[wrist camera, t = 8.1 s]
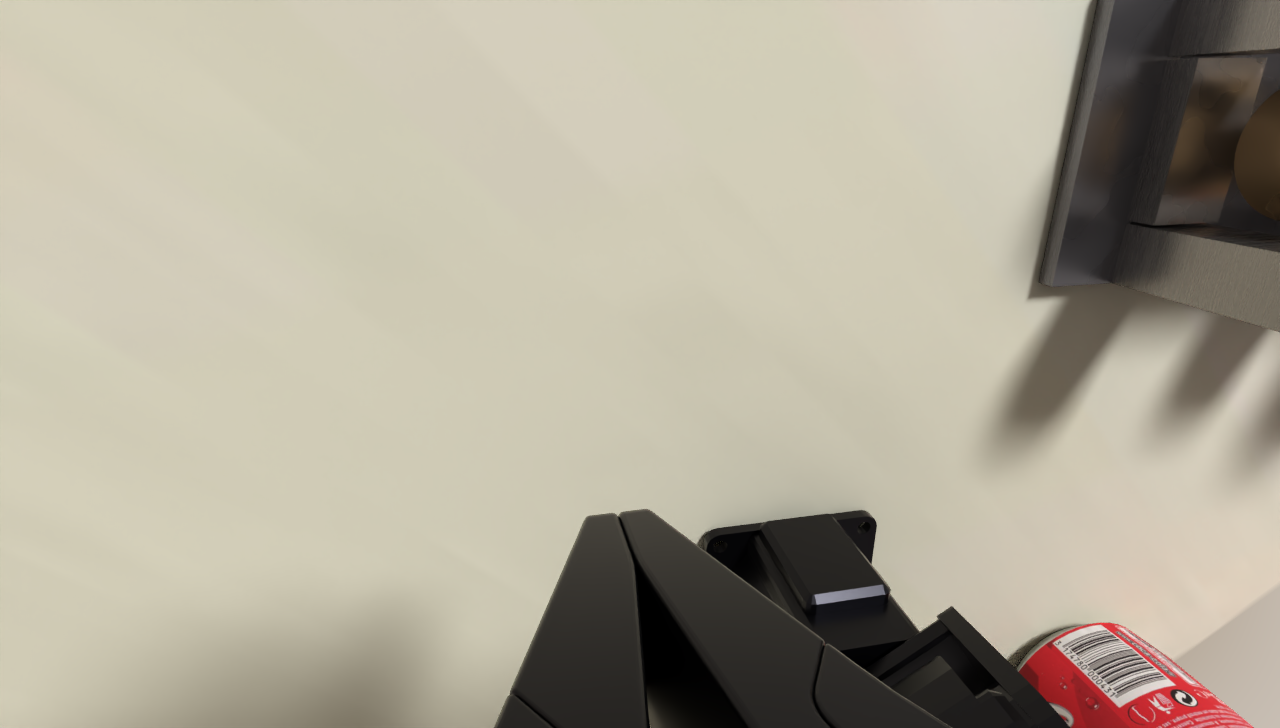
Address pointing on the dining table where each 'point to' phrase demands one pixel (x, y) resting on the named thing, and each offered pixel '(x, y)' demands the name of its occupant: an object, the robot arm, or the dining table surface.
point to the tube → (1261, 159)
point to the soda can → (1119, 682)
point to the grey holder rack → (1170, 158)
